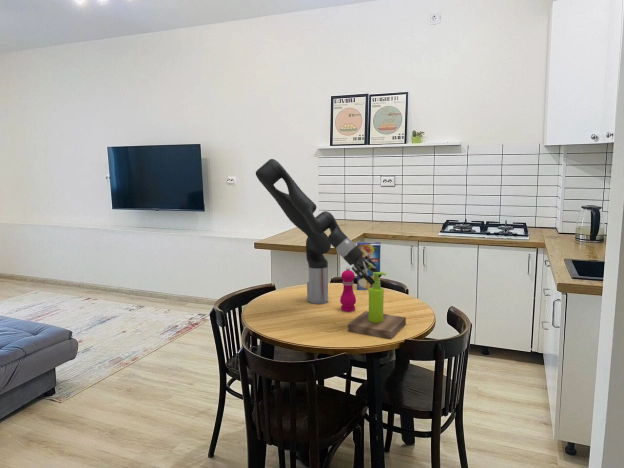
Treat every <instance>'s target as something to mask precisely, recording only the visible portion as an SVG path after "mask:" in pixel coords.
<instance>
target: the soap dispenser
mask: <svg viewBox="0 0 624 468" xmlns="http://www.w3.org/2000/svg"><path fill="white" fill-rule="evenodd" d="M373 275H374V281H375V283H374V284H373V285H372V288H369V290H368V311H369V321H370V322H374V323H379V322H382V321H383V314H384V298H385V297H384V293H385V292H384V288H383V287H381V279H380V280H379V279H378V276H379V275H382V276H387V272H382V271H380V272H373Z"/></svg>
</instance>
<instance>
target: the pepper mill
mask: <svg viewBox="0 0 624 468" xmlns="http://www.w3.org/2000/svg"><path fill="white" fill-rule="evenodd" d="M355 274H356V273H355V272H354V271H353V270H352V269H351V267H349V266H347V267H346V268H345V270H344V271H342V273H341V280H342V285H343V290H342V293H341V295H340V300H339V303H340V304H341V305H340V307H341V308H340V310H341V311H342V312H346V313H349V312H350V313H351V312H354V311H355V310H356V306H355V305H356V302H357V298H356V295H355V293H354V289H353V287H354V286H353V285H354V280H355Z"/></svg>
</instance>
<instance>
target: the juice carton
mask: <svg viewBox="0 0 624 468" xmlns="http://www.w3.org/2000/svg"><path fill="white" fill-rule="evenodd" d="M356 244H357V245H356V246H357V247H358V248H359V249H360V250H361V251H362V252H363V255H362V257H363V258H364V257H365V256H368V257H369V258H370V259H371V260H372V261H373V262H374V263H375V264H376V269H377V270H378V271H379V272H381V246H382V245H381V242H377V241H375V242H374V241H371V242H370V241H364V242H363V241H358V242H357V243H356ZM372 265H373V264H372ZM370 269H371V268H370ZM357 271H358V270H357ZM367 272H368V276H369V275H370V276H371V277H372V278H373V280H374V275H373V273H372V272H371V271H369V270H367ZM360 275H361V274H360ZM356 276H357V277H356V278H357V279H356V282H357V284H356V290H357V291H369V288H372V285H370V284H369V283H368V281H367V280H366V279H360V278H359V276H358V275H357V274H356ZM378 279H379V280H380V281H381V277H380V278H378Z"/></svg>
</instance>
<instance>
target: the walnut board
mask: <svg viewBox="0 0 624 468" xmlns="http://www.w3.org/2000/svg"><path fill="white" fill-rule="evenodd" d="M406 322H407V317H405V316H399V315H394V314H393V315H392V314H386V313H383V321H382V322H379V323H374V322H370V321H369V310H364V312H362V313H360V314H359V315H358V316H356V317H355V318H354V319H352V321H350V322H349V323H348V324H347V332H350V333H356V334H360V335H361V334H362V335H366V336H372V337H377V338H382V339H387V340H392V339H393V338H394V337H395V336H396V335H397V334H398V333H399V332H400V330H401V329H402V328H403V327H405V326H406Z"/></svg>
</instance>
